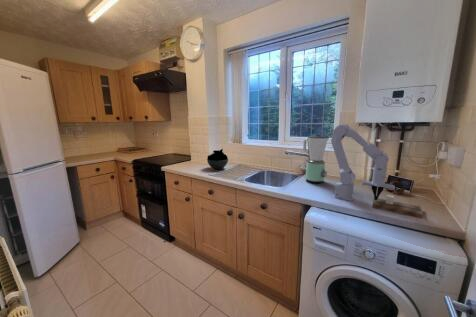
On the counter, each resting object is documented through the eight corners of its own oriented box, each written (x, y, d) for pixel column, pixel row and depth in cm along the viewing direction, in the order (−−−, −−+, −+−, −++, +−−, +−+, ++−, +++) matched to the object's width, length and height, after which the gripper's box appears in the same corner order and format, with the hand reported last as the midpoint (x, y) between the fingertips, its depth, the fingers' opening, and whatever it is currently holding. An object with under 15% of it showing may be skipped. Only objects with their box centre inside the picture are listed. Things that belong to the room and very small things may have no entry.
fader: (385, 204, 105) (386, 197, 105) (385, 200, 109) (386, 194, 109) (392, 205, 104) (393, 199, 103) (392, 202, 107) (393, 196, 107)
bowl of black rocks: (212, 172, 178) (211, 152, 174) (204, 168, 195) (203, 149, 191) (231, 169, 187) (231, 150, 183) (223, 165, 204) (222, 147, 201)
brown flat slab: (372, 207, 107) (372, 203, 106) (373, 200, 115) (374, 197, 115) (422, 218, 95) (422, 214, 94) (419, 210, 103) (420, 206, 103)
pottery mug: (401, 191, 131) (407, 183, 126) (399, 201, 126) (406, 193, 120) (380, 183, 137) (385, 175, 131) (377, 193, 131) (383, 185, 126)
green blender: (329, 181, 150) (333, 135, 143) (321, 186, 141) (325, 136, 134) (305, 176, 163) (308, 134, 157) (297, 180, 154) (299, 135, 147)
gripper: (362, 175, 108) (359, 198, 111) (396, 179, 100) (392, 205, 102) (364, 172, 114) (361, 194, 117) (396, 176, 105) (392, 200, 108)
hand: (375, 199), depth 110 cm, fingers closed
